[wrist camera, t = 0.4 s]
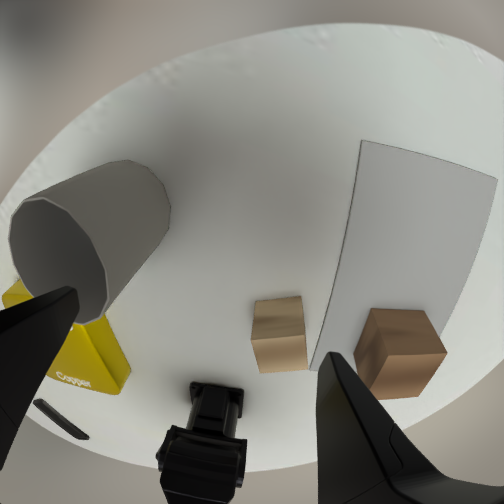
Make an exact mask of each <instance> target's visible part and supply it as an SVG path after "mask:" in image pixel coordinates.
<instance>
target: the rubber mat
mask: <svg viewBox="0 0 504 504" xmlns="http://www.w3.org/2000/svg"><path fill="white" fill-rule="evenodd" d="M497 182H498V179H496V178H493V177H491V176H488V175H485V174H483V173H480V172H477V171H474V170H471V169H468V168H466V167H463V166H460V165H456V164H453V163H450V162H447V161H444V160H440V159H437V158H434V157H430V156H427V155H423V154H419V153H415V152H412V151H408V150H404V149H400V148H395V147H391V146H387V145H382V144H378V143H373V142H368V141H363V140H361V148H360V155H359V161H358V168H357V174H356V180H355V186H354V192H353V198H352V203H351V208H350V214H349V219H348V224H347V229H346V234H345V238H344V243H343V247H342V252H341V256H340V261H339V265H338V269H337V273H336V277H335V281H334V285H333V289H332V293H331V297H330V301H329V305H328V308H327V312H326V316H325V319H324V323H323V326H322V330H321V333H320V336H319V340H318V343H317V346H316V350H315V353H314V356H313V359H312V362H311V366H310V369H309V370H310V371H318V370H319V367H320V365H321V363H322V361H323V359H324V357H325V355H326V354H327V352H329V351H333V352H339V353H341V354H342V356H343V357H344V358H345V359H346V361H347V362H348V363H349V365H350V366H351V367H352V368H353V370H354V371H355V372H357V369H356V365H355V360H354V356H353V353H354V351H355V348H356V346H357V344H358V341H359V339H360V336H361V334H362V331H363V328H364V326H365V323H366V321H367V318H368V315H369V312H370V310H371V308H375V309H394V310H419V311H425V313H426V315H427V316H428V318H429V320H430V322H431V323H432V325H433V327H434V329H435V331H436V332H437V334H438V336H439V337H440V335H441V333H442V331H443V330H444V328H445V326H446V324H447V322H448V320H449V318H450V316H451V314H452V312H453V310H454V308H455V306H456V303H457V301H458V299H459V297H460V295H461V292H462V290H463V288H464V286H465V283H466V281H467V278H468V276H469V273H470V271H471V268H472V266H473V263H474V261H475V258H476V255H477V252H478V249H479V247H480V244H481V241H482V238H483V235H484V231H485V228H486V225H487V222H488V218H489V215H490V211H491V207H492V203H493V199H494V195H495V191H496V187H497Z"/></svg>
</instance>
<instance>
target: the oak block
mask: <svg viewBox="0 0 504 504" xmlns="http://www.w3.org/2000/svg"><path fill="white" fill-rule="evenodd" d="M251 343H252V346H253V350H254V354H255V357H256V361H257V364H258V368H259V372H260V373H272V372H285V371H296V370H305V369H308V361H307V347H306V335H305V324H304V315H303V307H302V298H301V296H298V297H290V298H281V299H272V300H263V301H256V304H255V312H254V320H253V327H252V335H251Z"/></svg>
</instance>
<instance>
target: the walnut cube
mask: <svg viewBox="0 0 504 504" xmlns="http://www.w3.org/2000/svg"><path fill="white" fill-rule="evenodd" d="M446 355H447V351H446V349H445V347H444V345H443V343H442V342H441V340H440V338H439V336H438V334H437V332H436V331H435V329H434V327H433V325H432V323H431V322H430V320H429V318H428V316H427V315H426V313H425V311H419V310H394V309H375V308H371V310H370V312H369V315H368V318H367V321H366V323H365V326H364V328H363V331H362V334H361V336H360V339H359V341H358V344H357V346H356V348H355V351H354V353H353V356H354V360H355V365H356V369H357V374H358V376H359V377H360V378H361V380H362V381H363V382H364V384H365V385H366V386H367V387H368V389H369V390H370V391H371V392H372V394H373V395H374V396H375V397H376V399H377V400H385V399H398V398H409V397H418V396H419V395H420V393H421V392H422V391H423V389H424V388H425V387H426V385H427V384H428V382H429V381H430V379H431V378H432V376H433V375H434V374H435V372H436V371H437V369H438V367H439V366H440V364H441V363H442V361H443V360H444V358H445V356H446Z"/></svg>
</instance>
